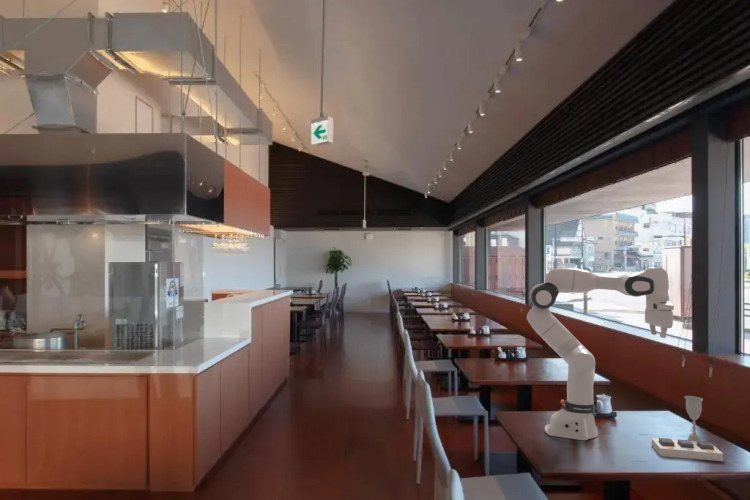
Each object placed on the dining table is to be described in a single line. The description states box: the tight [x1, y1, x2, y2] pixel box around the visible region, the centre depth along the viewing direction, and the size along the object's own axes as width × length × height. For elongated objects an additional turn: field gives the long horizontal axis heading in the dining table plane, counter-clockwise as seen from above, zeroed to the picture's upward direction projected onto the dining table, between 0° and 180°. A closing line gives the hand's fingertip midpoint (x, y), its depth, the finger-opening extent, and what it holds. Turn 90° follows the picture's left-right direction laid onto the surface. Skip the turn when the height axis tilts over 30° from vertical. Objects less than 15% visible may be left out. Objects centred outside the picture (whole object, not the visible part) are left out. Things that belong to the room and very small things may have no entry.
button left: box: [658, 437, 674, 446], centre depth 204 cm, size 4×4×2 cm
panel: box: [651, 437, 724, 462], centre depth 202 cm, size 22×12×3 cm, turn 76°
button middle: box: [677, 438, 694, 448], centre depth 202 cm, size 4×4×2 cm
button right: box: [697, 440, 715, 450], centre depth 200 cm, size 4×4×2 cm
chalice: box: [684, 395, 704, 442], centre depth 217 cm, size 7×7×18 cm
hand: (658, 336), depth 217 cm, fingers open, 8 cm apart
